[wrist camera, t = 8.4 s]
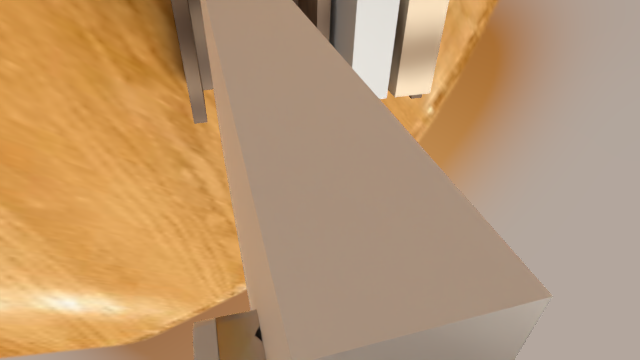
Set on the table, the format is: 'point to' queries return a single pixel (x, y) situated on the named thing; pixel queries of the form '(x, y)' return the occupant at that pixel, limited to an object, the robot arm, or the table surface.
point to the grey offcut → (366, 38)
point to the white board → (350, 209)
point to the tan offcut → (416, 46)
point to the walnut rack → (195, 52)
